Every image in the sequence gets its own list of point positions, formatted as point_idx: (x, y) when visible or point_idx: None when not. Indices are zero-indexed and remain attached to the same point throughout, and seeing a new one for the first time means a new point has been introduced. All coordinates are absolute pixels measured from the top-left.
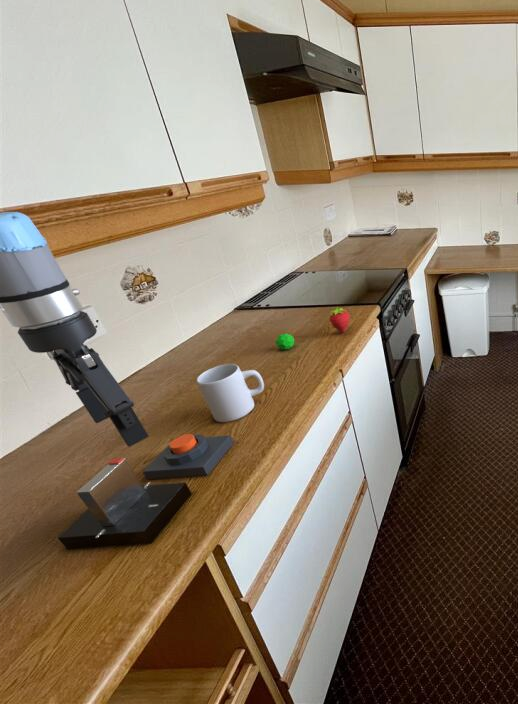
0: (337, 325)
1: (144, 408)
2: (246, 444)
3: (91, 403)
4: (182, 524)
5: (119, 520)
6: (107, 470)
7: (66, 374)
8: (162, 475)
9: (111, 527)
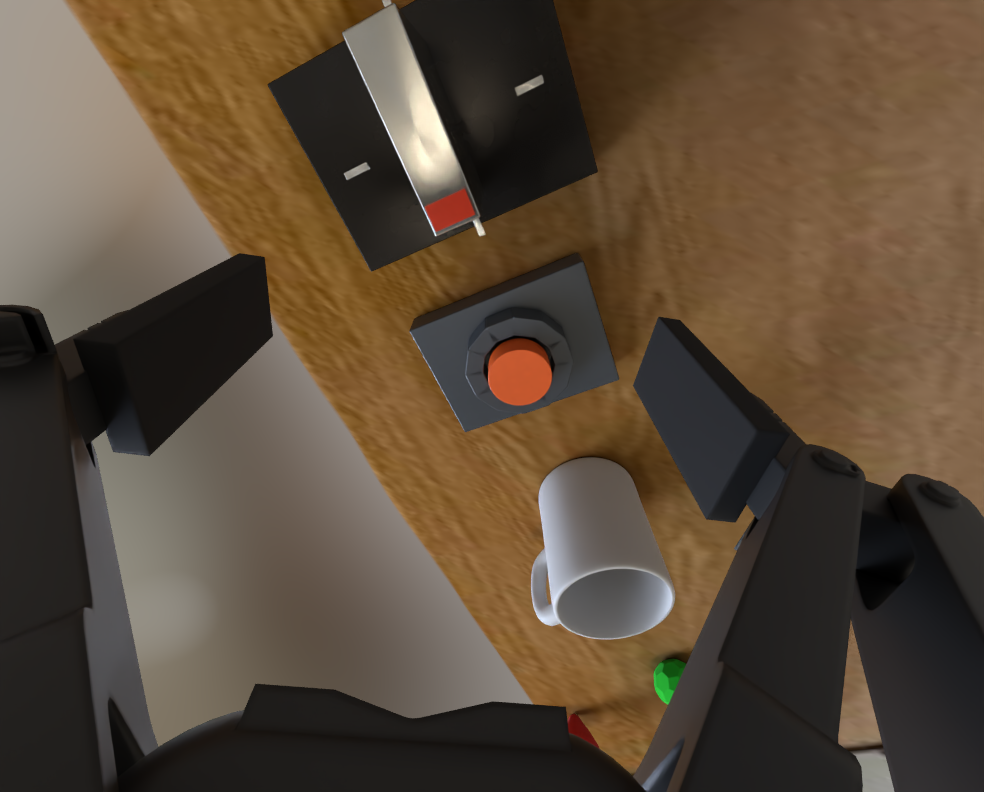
0: None
1: (895, 439)
2: (427, 421)
3: (693, 396)
4: (285, 172)
5: None
6: (421, 159)
7: (939, 583)
8: (529, 275)
9: None
